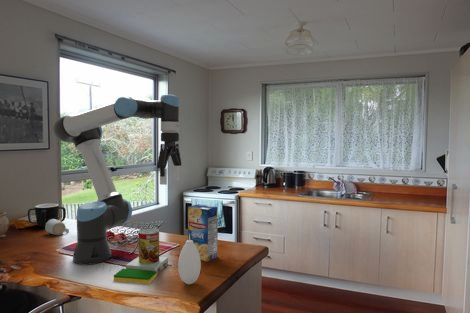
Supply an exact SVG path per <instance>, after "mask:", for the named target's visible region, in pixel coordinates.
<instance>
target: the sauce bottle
mask: <svg viewBox="0 0 470 313" xmlns="http://www.w3.org/2000/svg"><path fill="white" fill-rule="evenodd" d="M201 262H202V260H200V256H199V252H198V250H197V248H196V246H195V244H194V243H193V240H190V233H189V240H188V239H187V240H186V241H185V244H184V245H183V246H182V249H181V250H180V253H179V257H178V263H177V264H178V265H177V270H178V274H179V277H180V280H181V281H182V282H184V283H185V284H186V285H193V284H194V283H195V282H196V281H197V280H198V279H199V276H200V272H201V266H202V263H201Z"/></svg>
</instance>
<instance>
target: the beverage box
mask: <svg viewBox="0 0 470 313" xmlns="http://www.w3.org/2000/svg"><path fill="white" fill-rule="evenodd" d="M218 209H219V208H218V206H214V205H207V204H201V203H200V204H199V203H198V204H193V205H190V206H187V232H188V234H187V238H188V239H187V240H189V233H190V240H193V243H194V244H195V246H196V248H197V250H198V252H199V256H200V261H202V262H203V261H204V262H210V261H213V260H215V259H217V258H218V235H219V234H218V227H219V225H218V223H219V220H218V217H219V216H218V215H219V214H218V211H219V210H218Z"/></svg>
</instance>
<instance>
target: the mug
mask: <svg viewBox="0 0 470 313" xmlns="http://www.w3.org/2000/svg"><path fill="white" fill-rule="evenodd" d="M60 210H62V218H61V219H58V218H59V211H60ZM32 211H34V213H35V220H33V219H32ZM66 212H67V209H66V207H63V206H60V205H59V203H42V204H37V205H35V206H34V207H33V208H29V209H28V210H27V219H28V222H29V223H30V224H35V225H36V224H37V226H38V227H39V228H45V225H46V223H47V222H48V221H49V220H51V219H56V220H58V221H61V222H64V221H65V220H66V217H67V216H66V215H67V213H66Z"/></svg>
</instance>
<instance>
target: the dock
mask: <svg viewBox="0 0 470 313" xmlns="http://www.w3.org/2000/svg"><path fill="white" fill-rule="evenodd" d="M168 265H169V257H168V256H160V255H159V262H157V263H154V264H141V263H139V256H137V257H136V258H134V259H133V260H132V261H130V262H128V263H127V264H126V265H125V269H134V270H147V271H156V272H157V275H159V272H161V271H162V270H163V269H164V268H165V267H167V266H168Z"/></svg>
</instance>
